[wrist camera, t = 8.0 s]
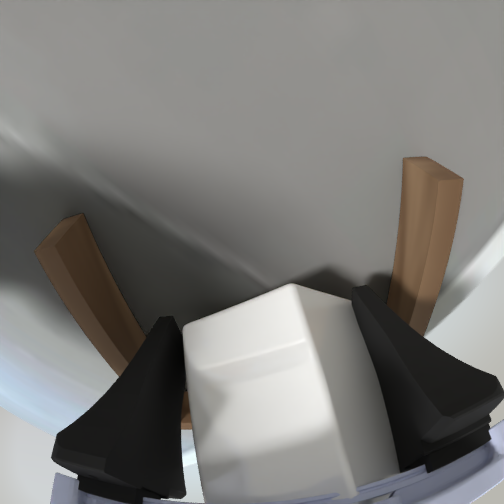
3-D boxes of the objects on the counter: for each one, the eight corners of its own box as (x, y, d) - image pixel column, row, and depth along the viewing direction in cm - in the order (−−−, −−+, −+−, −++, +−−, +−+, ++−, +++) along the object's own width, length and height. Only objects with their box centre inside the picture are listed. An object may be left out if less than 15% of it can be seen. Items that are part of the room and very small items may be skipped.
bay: (172, 399, 19) (169, 429, 16) (62, 219, 10) (34, 251, 8) (384, 368, 18) (395, 397, 16) (426, 156, 10) (463, 179, 8)
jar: (322, 357, 17) (369, 524, 9) (192, 376, 16) (226, 561, 8) (386, 268, 11) (478, 536, 3) (170, 289, 9) (234, 638, 1)
